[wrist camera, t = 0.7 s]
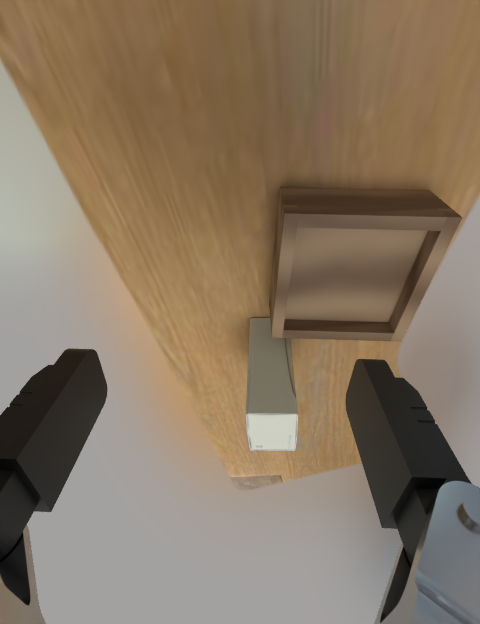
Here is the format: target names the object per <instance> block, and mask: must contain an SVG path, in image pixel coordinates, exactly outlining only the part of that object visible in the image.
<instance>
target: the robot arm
mask: <svg viewBox="0 0 480 624" xmlns="http://www.w3.org/2000/svg"><path fill="white" fill-rule="evenodd" d="M106 397H107V384H106V380H105V377H104V374H103V370H102V367H101V364H100V361H99V358H98V354H97V352H96V351H95V350H93V349H67V350H65V351H64V352H63V353H62V355H61V356H60V357H59V359H58V360H57V361H56V363H55V364H54V365H48V366H46V367H45V368H43V369H42V370H41V371H39V372H38V373H37V374H35V375H34V376H32V377H31V378H30V380H29V381H28V382H27V383H26V385H25V386H24V387H23V388H22V389H21V391H20V394H19V395H17V396H16V397H15V398H14V399H13V401H12V402H11V403H10V407H7V408H6V409H5V411H4V412H3V413H2V414H1V415H0V624H46V623H45V621H44V618H43V616H42V614H41V610H40V607H39V602H38V594H37V587H36V580H35V572H34V565H33V557H32V550H31V542H30V535H29V529H28V526H27V523H28V521H29V519H30V517H31V515H32V514H33V512H34V511H41V512H51V511H52V509H53V507H54V504H55V503H56V501H57V499H58V497H59V495H60V493H61V491H62V489H63V487H64V485H65V483H66V481H67V479H68V477H69V474H70V472H71V471H72V469H73V467H74V464H75V463H76V461H77V458H78V456H79V454H80V452H81V450H82V448H83V446H84V444H85V442H86V440H87V438H88V436H89V434H90V432H91V430H92V428H93V426H94V424H95V422H96V420H97V418H98V416H99V414H100V412H101V410H102V408H103V406H104V404H105V401H106ZM346 411H347V415H348V418H349V421H350V425H351V428H352V431H353V434H354V438H355V441H356V444H357V448H358V451H359V454H360V457H361V461H362V464H363V467H364V470H365V474H366V477H367V480H368V483H369V487H370V490H371V493H372V496H373V500H374V503H375V506H376V510H377V513H378V516H379V519H380V523H381V526H382V528H394V529H398V531H399V534H400V537H401V540H402V543H401V545H400V547H399V550H398V553H397V557H396V560H395V563H394V566H393V569H392V572H391V575H390V578H389V581H388V584H387V587H386V590H385V593H384V596H383V599H382V602H381V605H380V608H379V611H378V614H377V617H376V620H375V623H374V624H480V488H479V487H477V486H475V485H473V484H472V483H471V482H470V480H469V479H468V477H467V476H466V474H465V472H464V471H463V469H462V467H461V465H460V464H459V462H458V460H457V458H456V457H455V455H454V453H453V451H452V450H451V448H450V446H449V444H448V443H447V441H446V439H445V437H444V436H443V434H442V432H441V431H440V429H439V427H438V425H437V424H435V420H434V418H433V417H432V415H431V413H430V412H429V411H428V410H427V406H426V404H425V403H424V401H423V399H422V398H421V396H420V394H419V393H418V391H417V390H416V389H415V388H414V387H413V386H411V385H410V384H409V383H408V382H407V381H406V380H405V379H404V378H395V377H394V375H393V373H392V371H391V369H390V367H389V365H388V364H387V362H386V361H385V360H374V359H358V360H357V361H356V363H355V366H354V369H353V373H352V376H351V379H350V383H349V386H348V390H347V393H346Z"/></svg>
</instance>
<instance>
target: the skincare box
mask: <svg viewBox="0 0 480 624" xmlns="http://www.w3.org/2000/svg"><path fill="white" fill-rule="evenodd" d="M246 424H247V434H248V441H249V447H250V450H273V451H274V450H277V451H294V450H295V448H296V441H297V428H298V412H297V402H296V392H295V381H294V371H293V361H292V351H291V341H290V338H271V322H270V318H251V319H250V331H249V354H248V377H247V399H246Z"/></svg>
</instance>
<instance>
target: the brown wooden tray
mask: <svg viewBox="0 0 480 624" xmlns="http://www.w3.org/2000/svg"><path fill="white" fill-rule="evenodd" d="M461 219H462V217H461V216H460V215H459V214H457V213H456V212H455V211H454V210H453V209H451V208H450V207H449V206H448V205H447V204H445V203H444V202H443V201H442V200H441V199H439V198H438V197H437V196H436V195H435V194H433V193H432V192H431V191H428V190H382V189H336V188H290V187H280V190H279V202H278V213H277V224H276V235H275V246H274V257H273V268H272V279H271V290H270V301H269V306H270V322H271V338H303V339H336V340H368V341H402V339H403V337H404V335H405V333H406V331H407V329H408V327H409V325H410V323H411V321H412V319H413V317H414V315H415V313H416V311H417V309H418V307H419V305H420V302H421V300H422V298H423V296H424V294H425V292H426V290H427V288H428V286H429V284H430V282H431V280H432V278H433V276H434V274H435V272H436V270H437V268H438V266H439V264H440V262H441V260H442V258H443V256H444V254H445V252H446V250H447V248H448V246H449V244H450V242H451V240H452V238H453V235H454V233H455V231H456V229H457V227H458V225H459V223H460V221H461Z"/></svg>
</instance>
